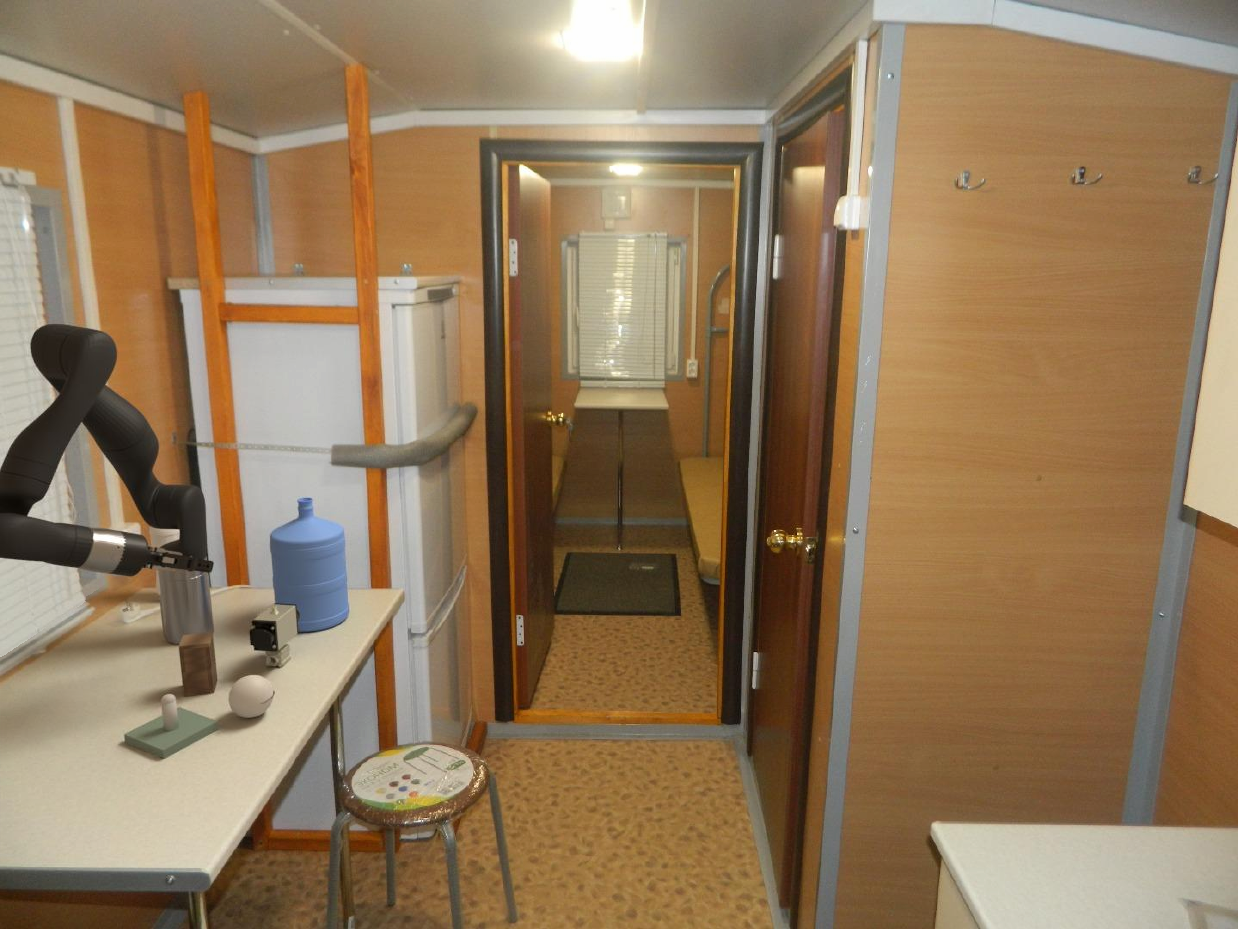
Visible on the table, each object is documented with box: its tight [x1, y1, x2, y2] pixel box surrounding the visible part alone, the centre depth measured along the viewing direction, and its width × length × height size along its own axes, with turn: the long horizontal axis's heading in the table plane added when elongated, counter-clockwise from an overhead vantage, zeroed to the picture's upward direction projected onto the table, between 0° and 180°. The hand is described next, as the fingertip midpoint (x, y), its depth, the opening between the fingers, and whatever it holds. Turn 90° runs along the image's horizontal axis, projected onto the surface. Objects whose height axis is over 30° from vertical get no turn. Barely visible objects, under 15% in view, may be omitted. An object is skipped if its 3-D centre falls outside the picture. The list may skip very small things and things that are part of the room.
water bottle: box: [148, 526, 179, 596], centre depth 194 cm, size 7×7×25 cm
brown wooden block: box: [178, 632, 219, 697], centre depth 154 cm, size 5×5×10 cm
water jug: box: [269, 497, 350, 633], centre depth 183 cm, size 16×16×28 cm
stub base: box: [123, 693, 219, 759], centre depth 139 cm, size 10×10×8 cm
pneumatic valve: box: [249, 602, 300, 668], centre depth 164 cm, size 6×12×12 cm, turn 174°
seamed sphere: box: [227, 674, 275, 719], centre depth 147 cm, size 10×7×7 cm
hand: (199, 565), depth 156 cm, fingers open, 8 cm apart
